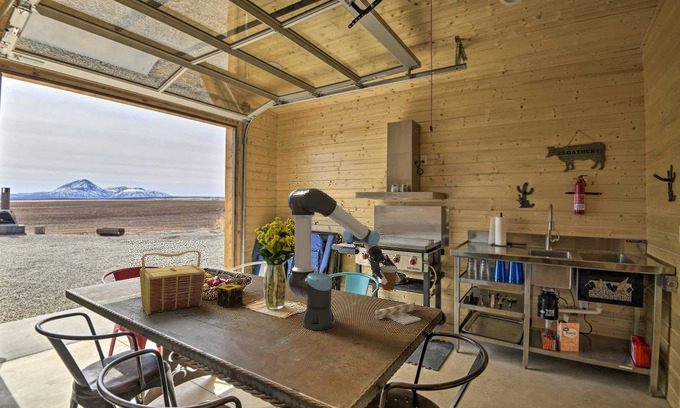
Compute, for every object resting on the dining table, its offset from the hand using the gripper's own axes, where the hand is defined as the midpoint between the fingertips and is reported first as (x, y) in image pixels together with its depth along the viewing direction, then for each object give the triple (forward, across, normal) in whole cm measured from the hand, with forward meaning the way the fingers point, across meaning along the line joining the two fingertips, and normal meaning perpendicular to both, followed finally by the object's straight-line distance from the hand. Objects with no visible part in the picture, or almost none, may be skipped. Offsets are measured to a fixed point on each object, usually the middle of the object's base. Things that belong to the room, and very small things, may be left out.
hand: (392, 282), depth 173 cm
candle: (-31, +66, -56) cm, 92 cm away
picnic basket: (-39, +94, -64) cm, 120 cm away
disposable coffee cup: (+1, 0, -6) cm, 6 cm away
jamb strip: (+14, 0, -9) cm, 16 cm away
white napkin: (+19, +2, -4) cm, 19 cm away
